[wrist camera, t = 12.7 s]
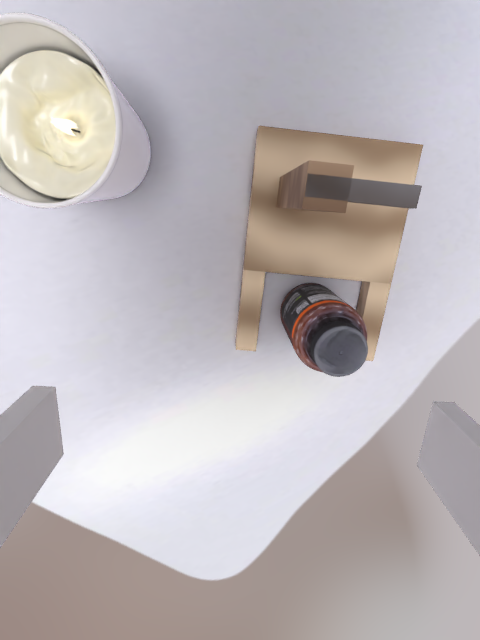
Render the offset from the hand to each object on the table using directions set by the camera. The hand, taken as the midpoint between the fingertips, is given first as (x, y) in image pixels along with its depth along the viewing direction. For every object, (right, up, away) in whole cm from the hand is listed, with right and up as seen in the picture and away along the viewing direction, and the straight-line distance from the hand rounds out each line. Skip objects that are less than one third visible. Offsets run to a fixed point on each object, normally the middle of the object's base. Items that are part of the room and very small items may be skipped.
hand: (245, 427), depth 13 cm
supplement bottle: (+7, +5, +24) cm, 26 cm away
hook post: (+6, +15, +19) cm, 24 cm away
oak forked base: (+7, +10, +22) cm, 25 cm away
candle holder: (-12, +19, +19) cm, 30 cm away
